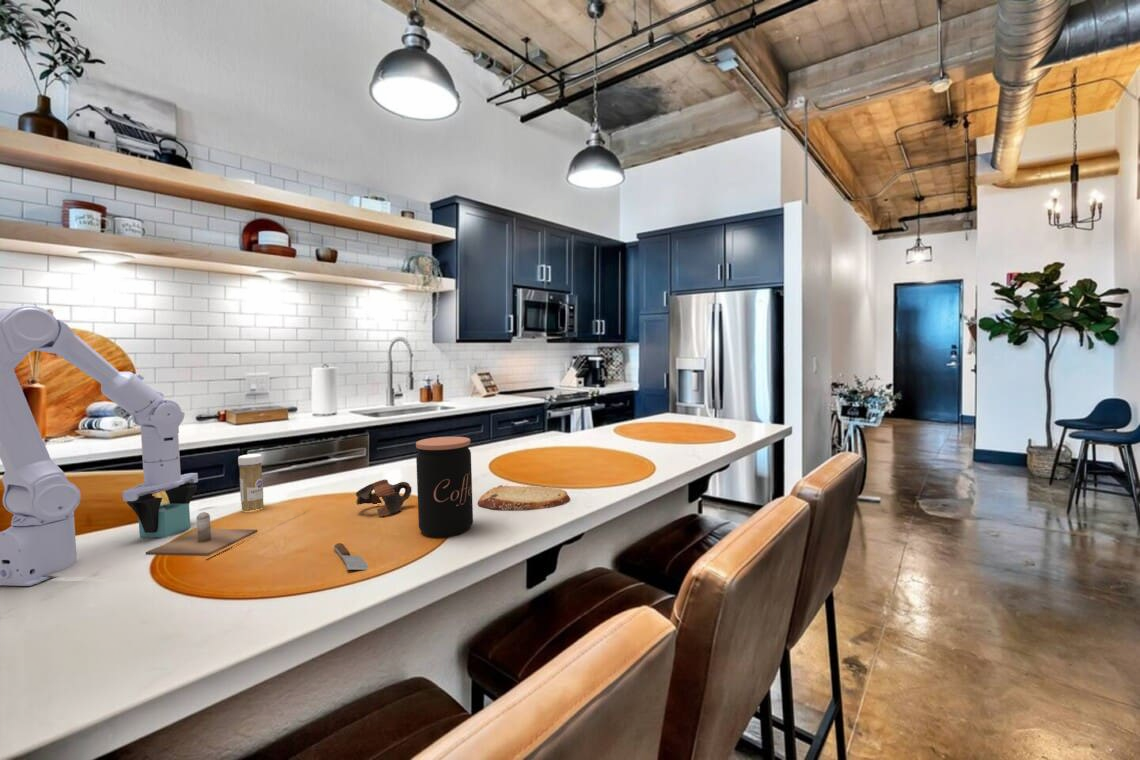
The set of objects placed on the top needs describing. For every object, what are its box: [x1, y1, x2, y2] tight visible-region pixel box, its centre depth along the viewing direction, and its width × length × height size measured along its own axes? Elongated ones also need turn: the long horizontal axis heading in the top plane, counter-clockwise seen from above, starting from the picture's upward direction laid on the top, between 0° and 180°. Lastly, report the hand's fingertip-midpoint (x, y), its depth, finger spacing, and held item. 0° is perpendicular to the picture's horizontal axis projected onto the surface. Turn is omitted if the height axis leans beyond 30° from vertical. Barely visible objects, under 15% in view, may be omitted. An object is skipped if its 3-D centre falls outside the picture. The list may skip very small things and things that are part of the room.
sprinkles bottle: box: [237, 453, 265, 511], centre depth 114 cm, size 5×5×14 cm
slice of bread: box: [477, 485, 571, 512], centre depth 119 cm, size 18×18×4 cm
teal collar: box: [138, 502, 191, 538], centre depth 100 cm, size 6×6×5 cm
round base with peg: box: [140, 508, 190, 540], centre depth 100 cm, size 8×8×6 cm
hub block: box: [145, 511, 258, 561], centre depth 94 cm, size 12×12×6 cm
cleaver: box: [333, 543, 369, 571], centre depth 87 cm, size 13×2×5 cm
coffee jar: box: [415, 436, 474, 538], centre depth 100 cm, size 11×11×18 cm
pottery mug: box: [355, 479, 412, 517], centre depth 114 cm, size 12×10×8 cm
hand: (165, 526), depth 100 cm, fingers closed on teal collar, 6 cm apart
